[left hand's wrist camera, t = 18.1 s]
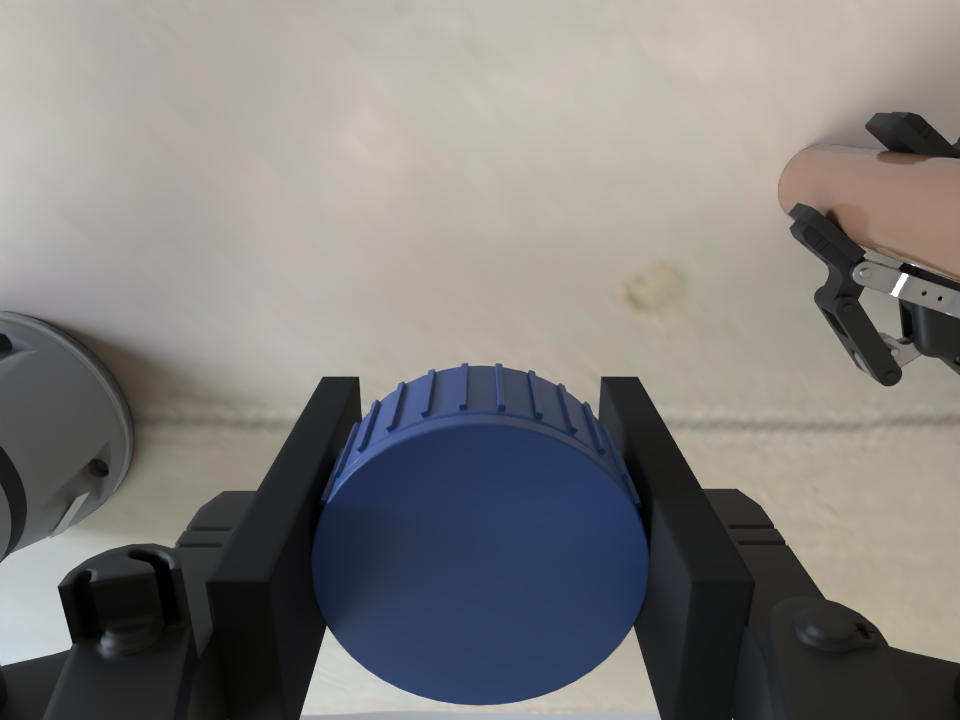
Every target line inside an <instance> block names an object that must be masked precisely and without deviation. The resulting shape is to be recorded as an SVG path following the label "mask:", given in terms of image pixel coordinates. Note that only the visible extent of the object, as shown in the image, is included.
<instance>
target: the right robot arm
mask: <svg viewBox="0 0 960 720" xmlns="http://www.w3.org/2000/svg"><path fill="white" fill-rule="evenodd" d="M865 127H866V129H867V130H868V131H869V132H870V133H871V134H872V135H873V136H875V137H876V138H877V139H878V140H879V141H880V142H881V143H882V144H883V145H884V146H885V147H887V148H888V149H889V150H890V151H896V152H905V153H914V154H923V155H932V156H941V157H950V158H959V159H960V137H959V139H958V141H957V143H955V144H954V145H951V144H950V143H949V142H948V141H946V140H945V139H944V138H943V137H942V136H941V135H940V134H939V133H938V132H937V131H936V130H935V129H933V127H932V126H931V125H930V124H928V123H927V122H926V121H925V120H924V119H923V118H922V117H921V116H920V115H917V114H913V113H910V112H892V113H876V114H875V115H874V116H873V117H872V119H871V120H870V121H869V122H868V123H867V124H866V125H865ZM788 215H789V216H790V217H791V218H792V219H794V220H795V222H794V224H793V225H792V226H791V227H790V230H791V233H792V235H793V237H794V238H795V239H797V240H798V241H799V242H800V243H801V244H803V245H804V246H805V247H806V248H807V249H808V250H810V251H811V252H812V253H813V254H814V255H816V256H817V257H818V258H819V259H820V260H822V261H823V262H824V263H825V264H826V265H827V266H828V269H829V276H828V279H827V281H826V283H825V285H824V286H822V287H820V288H819V289H818V290H817V291H816V293H815V295H814V300H815V303H816V304H817V306H818V307H819V309H820V310H821V312H822V313H823V315H824V316H825V318H826V319H827V321H828V323H829V324H830V326H831V327H832V329H833V330H834V332H835V333H836V335H837V336H838V338H839V339H840V341H841V343H842V344H843V346H844V347H845V349H846V350H847V352H848V353H849V355H850V356H851V358H852V359H853V361H854V363H855V364H856V366H857V367H858V368H859V369H861V370H862V371H864V372H865V373H866V374H868V375H869V376H871V377H872V378H874V379H875V380H876V381H878V382H879V383H881V384H882V385H884V386H893V385H895V384H897V383H898V382H899V381H900V379H901V377H902V370H901V369H900V368H901V367H903V366H904V365H906V364H907V363H909V362H910V361H912V360H914V359H915V358H917V357H918V356H920V355H921V354H923V355H925V356H928V357H935V358H940V359H941V360H942V361H943V362H945V363H946V364H947V365H948V366H949V367H950V368H952V369H953V370H954V371H955V372H956V373H958V374H959V375H960V283H958V282H955V281H953V280H950V279H947V278H945V277H942V276H939V275H937V274H934V273H931V272H929V271H926V270H923V269H921V268H918V267H915V266H912V265H910V264H907V263H903V264H902V265H901V266H900V267H899V269H897V268H894V267H891V266H888V265H885V264H882V263H879V262H876V261H872V260H869V259H866V258H864V257H863V255H864V254H865V253H866V252H865V251H864V250H863V249H862V248H861V247H860V246H858V245H857V244H856V243H855V242H853V241H852V240H851V239H850V238H849V237H848V236H847V235H846V234H844V233H843V232H842V231H841V230H840V229H839V228H837V227H836V226H835V225H834V224H833V223H832V222H830V221H829V220H828V219H827V218H826V217H825V216H823V215H822V214H821V213H820V212H819V211H817V210H816V209H814V208H812V207H811V206H808V205H804V204H801V203H797V204H796V205H795V206H794V207H793V208H792V209H791V211H790V212H789V213H788ZM865 286H866V287H869V288H872V289H875V290H878V291H881V292H884V293H887V294H890V295H892V296H895V297H898V299H899V308H900V317H901V327H902V336H903V338H900V339H894V338H893V337H891V336H889V335H887V334H886V333H883V332H879V333H878V332H877V330H876V329H875V327H874V325H873V324H872V322H871V321H870V319H869V318H868V316H867V314H866V313H865V311H864V310H863V308H862V306H861V305H860V303H859V302H858V299H859V297H860V295H861V293H862V291H863V289H864V287H865Z"/></svg>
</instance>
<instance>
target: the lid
mask: <svg viewBox="0 0 960 720" xmlns="http://www.w3.org/2000/svg"><path fill="white" fill-rule="evenodd" d="M319 505H321V506H324V507H323V510H322V512H321V515H320V517H319V520H318V523H317V526H316V530H315V533H314V536H313V541H312V548H311V563H312V573H313V583H314V592H315V598H316V601H317V604H318V607H319V610H320V612H321V614H322V616H323V618H324V620H325V622H326V624H327V626H328V628H329V629H330V631H331V632H332V634H333V635H334V636H335V638H336V639H337V641H338V642H339V643H340V644H341V646H342V647H343V648H344V649H345V650H346V651H347V652H348V653H349V654H350V655H351V656H352V657H353V658H354V659H355V660H356V661H357V662H359V663H360V664H361V665H362V666H363V667H364V668H366V669H367V670H368V671H370V672H371V673H373V674H375V675H376V676H378V677H379V678H381V679H382V680H384V681H386V682H388V683H390V684H392V685H394V686H396V687H398V688H400V689H402V690H405V691H407V692H410V693H413V694H415V695H418V696H421V697H425V698H429V699H432V700H436V701H441V702H448V703H454V704H464V705H499V704H506V703H513V702H520V701H524V700H528V699H532V698H536V697H539V696H542V695H545V694H548V693H550V692H553V691H556V690H558V689H560V688H562V687H564V686H567V685H569V684H571V683H573V682H575V681H576V680H578V679H580V678H581V677H583V676H584V675H586V674H587V673H589V672H591V671H592V670H593V669H594V668H596V667H597V666H598V665H599V664H601V663H602V662H603V661H604V660H606V659H607V658H608V657H609V656H610V654H611V653H612V652H613V651H614V650H615V649H616V648H617V647H618V646H619V645H620V644H621V642H622V641H623V640H624V638H625V637H626V636H627V634H628V633H629V631H630V630H631V628H632V626H633V625H634V623H635V621H636V619H637V617H638V615H639V613H640V610H641V608H642V605H643V602H644V599H645V595H646V586H647V577H648V567H649V545H648V539H647V535H646V532H645V528H644V525H643V521H642V519H641V516H640V514H639V511H638V509H640V508H642V504H641V502H640V499H639V497H638V494H637V492H636V489H635V487H634V484H633V482H632V479H631V477H630V474H629V472H628V469H627V467H626V464H625V462H624V460H623V457H622V455H621V452H620V450H619V451H618V450H617V448H616V445H615V443H614V440H613V438H612V435H611V433H610V430H609V428H608V427H607V425H604V426H601V424H600V423H599V421H598V420H597V419H596V418H595V416H594V415H593V413H592V410H591V407H590V405H589V404H588V403H587V402H584V403H583V404H582V403H581V402H580V401H578V400H577V399H576V398H575V397H574V396H573V395H571V394H570V393H568V392H566V389H565V386H564V385H562V384H561V383H559V384H558V386H557V385H555V384H553V383H551V382H549V381H547V380H545V379H543V378H540V377H538V376H536V375H535V372H534V371H531V370H529V372H528V373H526V372H523V371H519V370H514V369H508V368H503V367H502V364H497V363H496V365H495V367H492V366H468V363H463V364H462V366H461V367H458V368H452V369H446V370H441V371H438V372H435V369H433V370H429V371H428V375H425V376H422V377H420V378H418V379H416V380H414V381H411V382H409V383H407V384H405V383H404V382H401V383H400V384H398V387H397V390H395V391H394V392H392V393H391V394H389V395H388V396H387V397H386V398H384V399H383V400H382V401H381V402H379V401H378V400H376V401H374V402H373V404H372V407H371V410H370V412H369V413H368V414H367V416H366V417H365V418H364V419H363V420H362V422H361V423H360V424H359V423H357V422H356V423H355V424H354V425H353V428H352V430H351V433H350V435H349V438H348V440H347V443H346V445H345V448H341V450H340V453H339V455H338V458H337V460H336V463H335V465H334V468H333V470H332V473H331V475H330V478H329V480H328V483H327V485H326V488H325V490H324V492H323V495H322V497H321V500H320V503H319Z"/></svg>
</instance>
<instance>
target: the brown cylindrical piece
mask: <svg viewBox="0 0 960 720" xmlns="http://www.w3.org/2000/svg"><path fill="white" fill-rule="evenodd" d="M778 198H779V202H780V205H781V207H782V209H783V211H784V212H785V214H786V215H787V216H788V217H789V218H790V219H792V218H791V217H790V216H789V215H788V213H789V212H790V211H791V209H792V208H793V207H794V206H795V205H796V204H797V203H801V204H804V205H808V206H811V207H812V208H814V209H816V210H817V211H819V212H820V213H821V214H822V215H823V216H825V217H826V218H827V219H828V220H829V221H830V222H832V223H833V224H834V225H835V226H836V227H837V228H839V229H840V230H841V231H842V232H843V233H844V234H846V235H847V236H848V237H849V238H850V239H851V240H852V241H853V242H855V243H856V244H857V245H859V246H861V247H864V248H867V249H869V250H872V251H875V252H877V253H880V254H883V255H886V256H888V257H891V258H894V259H896V260H899V261H902V262H904V263H907V264H910V265H912V266H915V267H918V268H921V269H923V270H926V271H929V272H931V273H934V274H937V275H939V276H942V277H945V278H947V279H950V280H953V281H955V282H958V283H960V159H959V158H950V157H941V156H932V155H923V154H914V153H905V152H896V151H887V150H878V149H869V148H860V147H851V146H843V145H834V144H818V145H814V146H811V147H808V148H806V149H804V150H802V151H801V152H799V153H798V154H797V155H796V156H794V157H793V158H792V159H791V160H790V162H789V163H788V164H787V166H786V167H785V169H784V170H783V173H782V175H781V177H780V180H779V185H778ZM792 220H793V221H795V220H794V219H792Z"/></svg>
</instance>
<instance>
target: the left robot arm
mask: <svg viewBox="0 0 960 720" xmlns="http://www.w3.org/2000/svg"><path fill="white" fill-rule="evenodd" d="M598 421H599V423H600V424H601V426H604V425H607V427H608V428H609V430H610V433H611V435H612V438H613V440H614V443H615V445H616V448H617V450H618V451H619V450H620V452H621V455H622V457H623V460H624V462H625V464H626V467H627V469H628V472H629V474H630V477H631V479H632V482H633V484H634V487H635V489H636V492H637V494H638V497H639V499H640V502H641V504H642V508H640V509H638V511H639V514H640V516H641V519H642V521H643V525H644V528H645V532H646V535H647V539H648V545H649V567H648V577H647V586H646V595H645V599H644V602H643V605H642V608H641V610H640V613H639V615H638V617H637V619H636V621H635V623H634V628H635V632H636V635H637V639H638V642H639V645H640V649H641V652H642V656H643V659H644V662H645V666H646V669H647V673H648V676H649V679H650V683H651V686H652V690H653V693H654V697H655V700H656V703H657V707H658V710H659V714H660V717H661V720H732V717H733V720H960V663H955V662H951V661H946V660H942V659H938V658H933V657H929V656H924V655H920V654H915V653H911V652H907V651H903V650H900V649H897V648H893V647H890V646H889V645H888V643H887V641H886V640H885V639H884V637H883V636H882V634H881V633H880V631H879V630H878V628H877V627H876V626H875V625H873V624H872V623H871V622H870V621H868V620H867V619H866V618H865V617H864V616H862V615H861V614H860V613H858V612H856V611H854V610H852V609H850V608H848V607H846V606H844V605H842V604H840V603H837V602H833V601H829V600H826V599H825V597H824V596H823V594H822V593H821V592H820V590H819V589H818V587H817V586H816V584H815V583H814V582H813V580H812V579H811V577H810V576H809V574H808V573H807V572H806V570H805V569H804V567H803V566H802V564H801V563H800V562H799V560H798V559H797V557H796V556H795V554H794V553H793V551H792V550H791V549H790V547H789V546H788V545H786V544H785V540H784V539H783V537H782V536H781V534H780V533H779V531H778V530H777V529H774V524H773V523H772V521H771V520H770V519H769V517H768V516H767V514H766V513H765V511H764V510H763V508H762V507H761V506H760V505H759V504H758V503H756V502H755V501H753V500H752V499H750V498H749V497H748V496H746V495H745V494H743V493H742V492H740V491H739V490H738V489H702V488H701V486H700V484H699V483H698V481H697V479H696V477H695V476H694V474H693V472H692V470H691V469H690V467H689V465H688V464H687V462H686V460H685V458H684V457H683V455H682V453H681V451H680V450H679V448H678V446H677V444H676V443H675V441H674V439H673V437H672V436H671V434H670V432H669V431H668V429H667V427H666V425H665V424H664V422H663V420H662V418H661V417H660V415H659V413H658V411H657V410H656V408H655V406H654V405H653V403H652V401H651V399H650V398H649V396H648V394H647V392H646V391H645V389H644V387H643V385H642V384H641V382H640V380H639V378H638V377H601V390H600V405H599V420H598ZM356 422H357V423H359V424H360V423H361V422H362V414H361V399H360V384H359V377H322V379H321V381H320V383H319V384H318V386H317V388H316V390H315V391H314V393H313V395H312V397H311V398H310V400H309V402H308V403H307V405H306V407H305V409H304V410H303V412H302V414H301V416H300V417H299V419H298V421H297V423H296V424H295V426H294V428H293V430H292V431H291V433H290V435H289V436H288V438H287V440H286V442H285V443H284V445H283V447H282V449H281V450H280V452H279V454H278V456H277V457H276V459H275V461H274V463H273V464H272V466H271V468H270V469H269V471H268V473H267V475H266V476H265V478H264V480H263V482H262V483H261V485H260V487H259V489H258V490H257V491H223V492H222V493H220V494H219V495H218V496H216V497H215V498H213V499H212V500H211V501H209V502H208V503H206V504H205V505H203V506H202V507H201V508H200V509H199V510H198V512H197V513H196V515H195V516H194V518H193V519H192V520H191V522H190V523H189V525H188V526H187V531H184V532H183V533H182V535H181V536H180V538H179V539H178V541H177V542H176V546H175V548H172V549H171V548H170V547H165V546H161V545H157V544H131V545H127V546H123V547H119V548H114V549H110V550H108V551H105V552H103V553H101V554H98V555H96V556H94V557H92V558H89V559H87V560H86V561H84V562H83V563H81V564H80V565H79V566H77V567H76V568H74V569H73V570H71V571H70V572H69V573H68V574H67V575H66V577H65V578H64V579H63V580H62V582H61V583H60V584H59V586H58V590H59V594H60V598H61V601H62V605H63V609H64V613H65V617H66V620H67V624H68V628H69V632H70V635H71V639H72V643H73V644H72V647H71V649H70V650H67V651H63V652H60V653H57V654H53V655H49V656H44V657H40V658H36V659H31V660H27V661H22V662H18V663H13V664H9V665H5V666H1V665H0V720H228V719H229V720H299V718H300V715H301V711H302V708H303V705H304V701H305V698H306V694H307V691H308V688H309V684H310V681H311V677H312V674H313V671H314V667H315V664H316V660H317V657H318V654H319V650H320V647H321V643H322V640H323V637H324V633H325V630H326V626H327V624H326V622H325V620H324V618H323V616H322V614H321V612H320V610H319V607H318V604H317V601H316V598H315V592H314V583H313V573H312V563H311V548H312V541H313V536H314V533H315V530H316V526H317V523H318V520H319V517H320V515H321V512H322V510H323V507H324V506H321V505H319V503H320V500H321V497H322V495H323V492H324V490H325V488H326V485H327V483H328V480H329V478H330V475H331V473H332V470H333V468H334V465H335V463H336V460H337V458H338V455H339V453H340V450H341V448H345V445H346V443H347V440H348V438H349V435H350V433H351V430H352V428H353V425H354V424H355V423H356ZM133 446H134V434H133V425H132V420H131V416H130V412H129V409H128V406H127V403H126V401H125V399H124V396H123V394H122V392H121V390H120V389H119V387H118V385H117V383H116V382H115V380H114V379H113V377H112V376H111V374H110V373H109V372H108V371H107V369H106V368H105V367H104V366H103V364H102V363H101V362H100V361H99V360H98V359H97V358H96V357H95V356H94V355H93V354H92V353H91V352H90V351H88V350H87V349H86V348H85V347H84V346H83V345H81V344H80V343H79V342H77V341H76V340H75V339H73V338H72V337H70V336H69V335H67V334H65V333H64V332H62V331H60V330H58V329H56V328H55V327H53V326H51V325H48V324H46V323H44V322H42V321H39V320H36V319H33V318H30V317H27V316H23V315H19V314H15V313H9V312H3V311H0V562H2V561H3V560H4V559H5V558H6V557H7V556H8V555H9V554H10V553H12V552H15V551H17V550H19V549H21V548H24V547H26V546H28V545H30V544H33V543H35V542H37V541H39V540H42V539H44V538H46V537H48V536H51V535H52V536H51V537H50V538H52V537H54V536H56V535H58V534H60V533H62V532H64V530H65V529H66V528H69V527H71V526H73V525H74V524H76V523H78V522H80V521H81V520H83V519H84V518H86V517H87V516H88V515H90V514H91V513H92V512H94V511H95V510H96V509H98V508H99V507H100V506H101V505H102V504H103V503H104V502H105V501H106V500H107V499H108V498H109V497H110V496H111V495H112V493H113V492H114V491H115V490H116V489H117V488H118V486H119V485H120V484H121V482H122V481H123V479H124V477H125V475H126V473H127V471H128V468H129V466H130V462H131V458H132V454H133Z"/></svg>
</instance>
